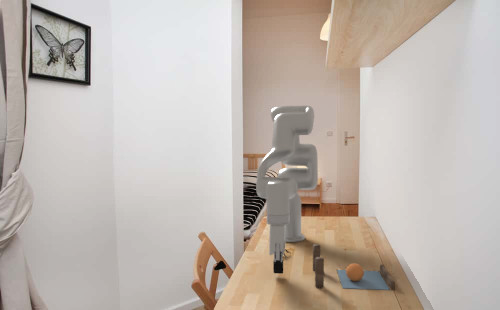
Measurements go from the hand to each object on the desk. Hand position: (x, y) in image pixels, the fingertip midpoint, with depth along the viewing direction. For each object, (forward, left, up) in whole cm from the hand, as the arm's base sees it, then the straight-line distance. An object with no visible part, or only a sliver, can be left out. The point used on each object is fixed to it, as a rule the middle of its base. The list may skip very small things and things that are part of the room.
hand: (278, 272), depth 121 cm
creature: (-19, +1, -2) cm, 19 cm away
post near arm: (-6, +13, -2) cm, 15 cm away
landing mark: (0, +27, -2) cm, 27 cm away
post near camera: (+6, +13, -2) cm, 15 cm away
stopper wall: (0, +35, -2) cm, 35 cm away
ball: (+1, +25, +1) cm, 25 cm away
